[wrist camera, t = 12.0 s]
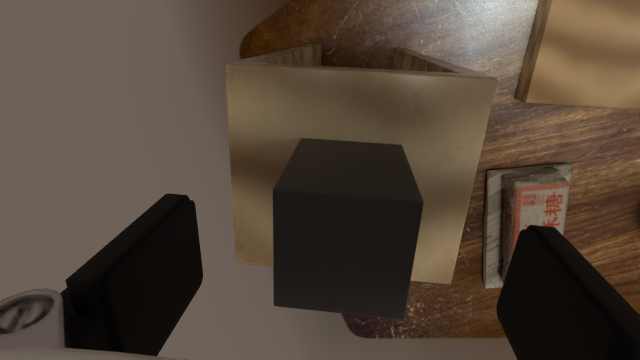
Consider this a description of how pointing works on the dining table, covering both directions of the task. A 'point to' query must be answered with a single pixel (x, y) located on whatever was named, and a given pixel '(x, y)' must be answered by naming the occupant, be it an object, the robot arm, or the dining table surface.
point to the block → (345, 228)
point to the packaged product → (520, 211)
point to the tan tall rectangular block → (357, 137)
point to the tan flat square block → (583, 54)
